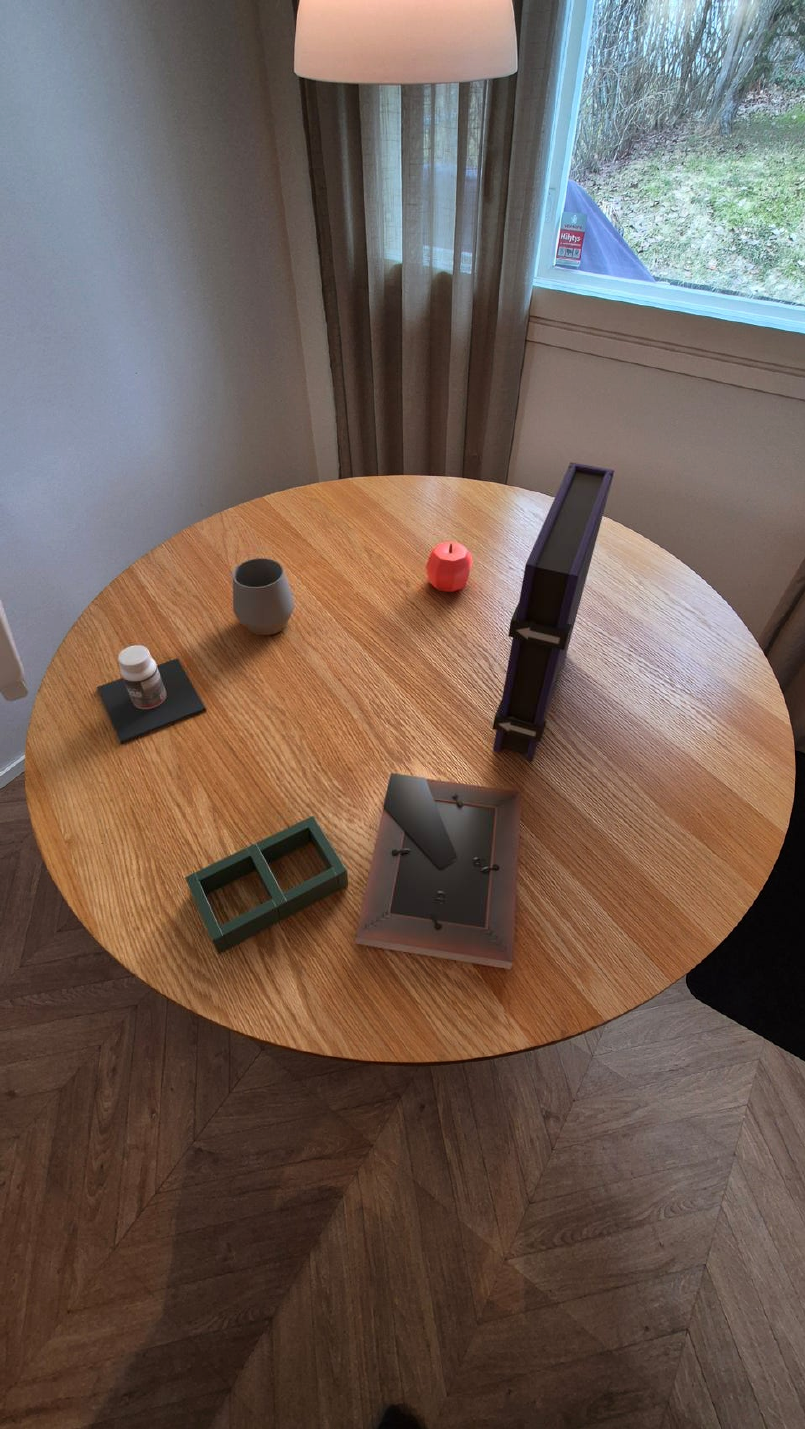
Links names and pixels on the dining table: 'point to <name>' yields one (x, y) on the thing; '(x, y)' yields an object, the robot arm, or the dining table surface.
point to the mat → (143, 721)
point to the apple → (449, 566)
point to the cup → (262, 596)
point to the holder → (267, 883)
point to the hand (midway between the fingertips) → (7, 660)
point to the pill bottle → (141, 677)
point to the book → (549, 606)
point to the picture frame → (444, 872)
